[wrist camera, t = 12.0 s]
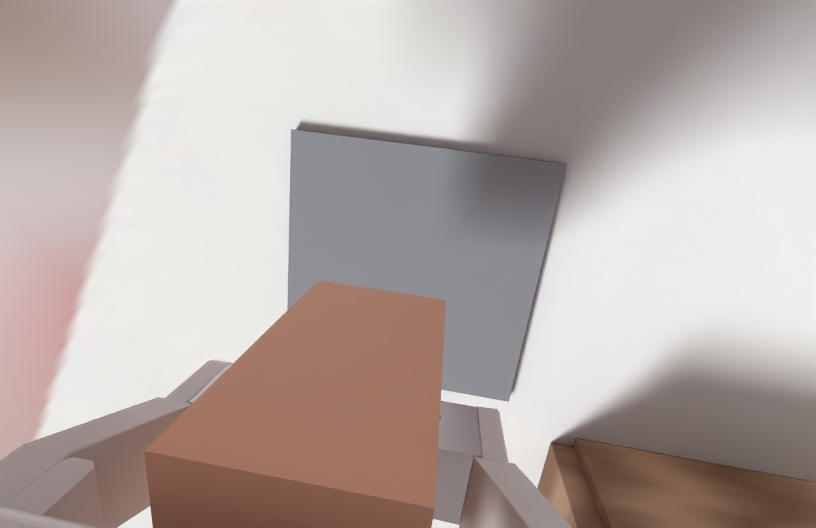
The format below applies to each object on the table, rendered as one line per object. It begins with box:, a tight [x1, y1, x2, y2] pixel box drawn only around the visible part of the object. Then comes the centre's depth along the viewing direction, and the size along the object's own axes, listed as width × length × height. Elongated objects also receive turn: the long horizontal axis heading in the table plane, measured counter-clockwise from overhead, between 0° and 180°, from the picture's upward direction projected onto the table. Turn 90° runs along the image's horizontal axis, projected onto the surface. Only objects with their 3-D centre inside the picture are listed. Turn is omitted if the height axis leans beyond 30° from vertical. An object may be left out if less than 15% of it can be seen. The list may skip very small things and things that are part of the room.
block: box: [144, 280, 446, 528], centre depth 9 cm, size 4×4×7 cm
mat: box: [288, 129, 566, 402], centre depth 18 cm, size 12×12×1 cm
